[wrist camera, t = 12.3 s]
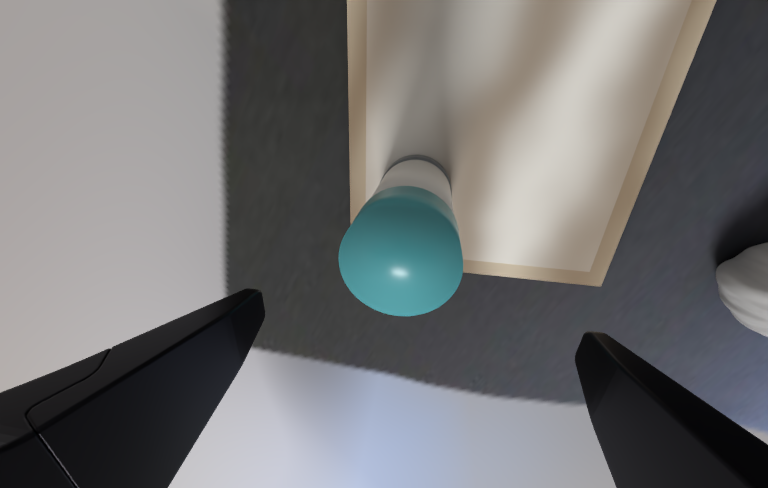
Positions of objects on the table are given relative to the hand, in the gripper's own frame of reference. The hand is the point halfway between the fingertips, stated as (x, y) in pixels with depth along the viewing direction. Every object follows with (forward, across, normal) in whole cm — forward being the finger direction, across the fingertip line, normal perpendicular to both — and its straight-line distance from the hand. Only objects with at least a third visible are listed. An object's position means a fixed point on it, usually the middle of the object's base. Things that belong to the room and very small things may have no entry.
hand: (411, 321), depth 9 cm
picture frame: (+12, -3, -5) cm, 13 cm away
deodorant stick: (+11, +1, 0) cm, 11 cm away
